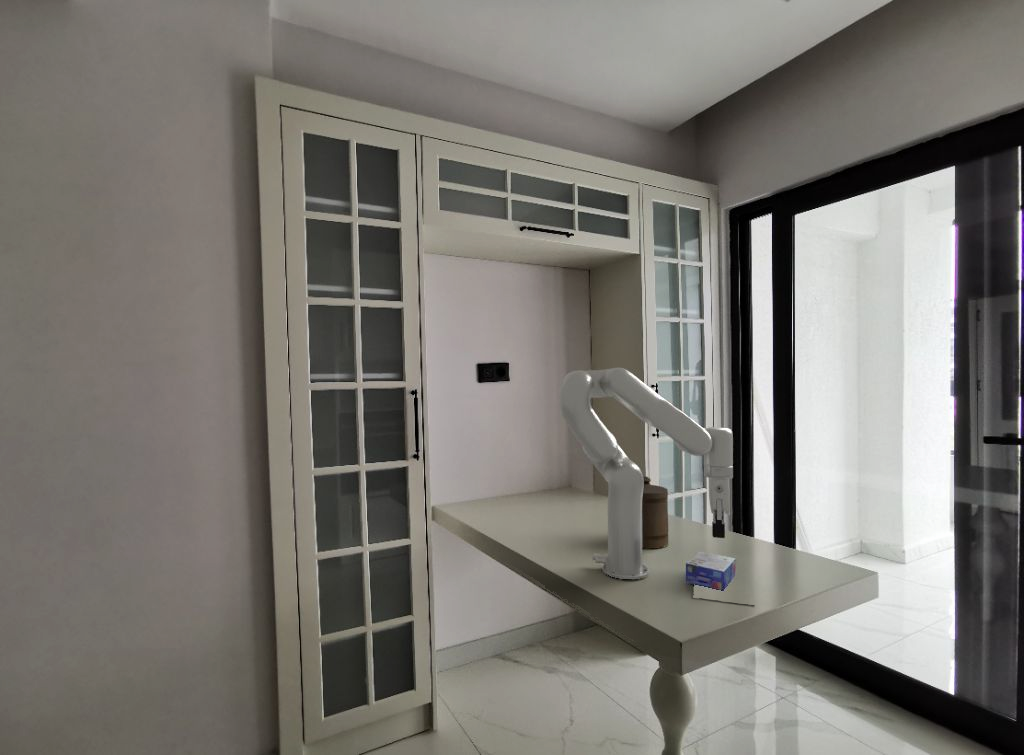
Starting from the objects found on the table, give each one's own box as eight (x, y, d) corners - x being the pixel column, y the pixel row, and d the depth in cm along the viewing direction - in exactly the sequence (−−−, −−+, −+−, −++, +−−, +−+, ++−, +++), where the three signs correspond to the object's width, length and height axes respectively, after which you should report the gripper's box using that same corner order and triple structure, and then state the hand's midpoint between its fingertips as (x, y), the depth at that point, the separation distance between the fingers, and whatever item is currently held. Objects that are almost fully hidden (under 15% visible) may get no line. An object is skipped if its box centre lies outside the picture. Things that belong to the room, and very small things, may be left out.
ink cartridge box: (698, 570, 144) (681, 585, 133) (699, 550, 144) (681, 563, 133) (735, 578, 138) (721, 595, 127) (736, 558, 138) (721, 572, 127)
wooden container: (661, 536, 178) (661, 473, 178) (673, 549, 163) (673, 481, 163) (619, 535, 179) (619, 472, 179) (627, 549, 164) (626, 480, 164)
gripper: (734, 477, 135) (735, 546, 135) (730, 468, 149) (731, 531, 149) (704, 475, 137) (704, 543, 137) (703, 466, 151) (703, 528, 151)
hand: (718, 536), depth 143 cm, fingers closed
